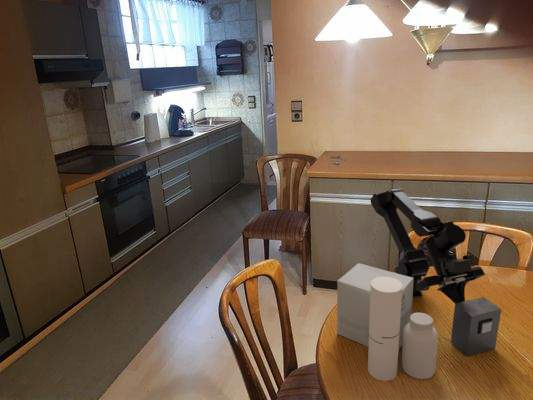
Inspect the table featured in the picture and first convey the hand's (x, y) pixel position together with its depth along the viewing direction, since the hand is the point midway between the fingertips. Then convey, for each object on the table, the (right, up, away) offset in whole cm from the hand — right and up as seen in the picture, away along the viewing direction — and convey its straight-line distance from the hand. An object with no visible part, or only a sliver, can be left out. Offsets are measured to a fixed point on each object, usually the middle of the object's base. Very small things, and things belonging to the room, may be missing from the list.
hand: (463, 309), depth 109 cm
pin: (+1, -4, -3) cm, 5 cm away
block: (+2, -10, -2) cm, 10 cm away
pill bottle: (-16, -13, -8) cm, 22 cm away
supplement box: (-23, -9, +6) cm, 25 cm away
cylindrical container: (-25, -14, -8) cm, 29 cm away
